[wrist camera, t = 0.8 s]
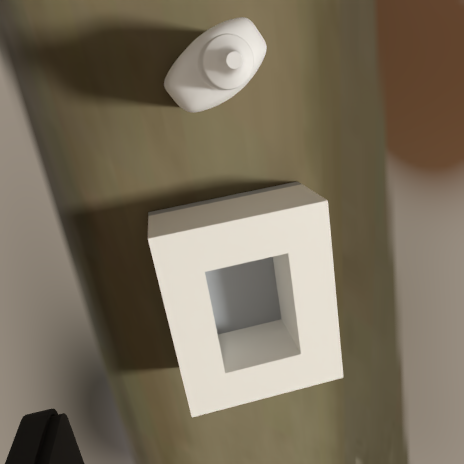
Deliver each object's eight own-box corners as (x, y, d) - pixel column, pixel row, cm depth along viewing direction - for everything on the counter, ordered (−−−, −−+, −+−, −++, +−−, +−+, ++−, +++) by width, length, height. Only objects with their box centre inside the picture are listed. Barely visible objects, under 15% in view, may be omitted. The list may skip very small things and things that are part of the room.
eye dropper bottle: (246, 97, 30) (302, 102, 19) (168, 110, 30) (179, 124, 18) (237, 30, 29) (292, -7, 18) (155, 42, 28) (157, 12, 17)
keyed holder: (148, 212, 32) (147, 238, 26) (297, 181, 33) (327, 200, 27) (185, 366, 36) (191, 417, 31) (314, 334, 38) (343, 377, 32)
